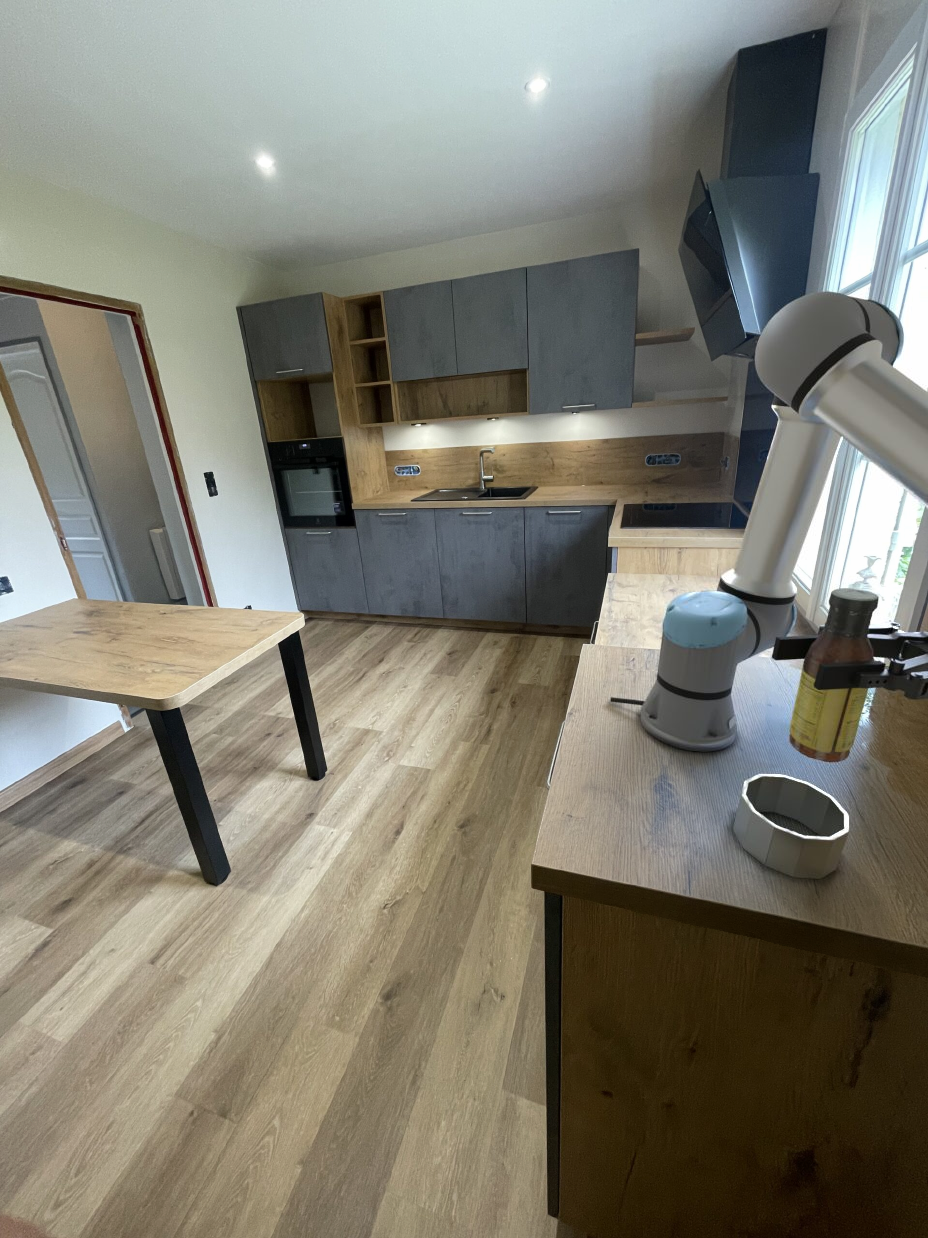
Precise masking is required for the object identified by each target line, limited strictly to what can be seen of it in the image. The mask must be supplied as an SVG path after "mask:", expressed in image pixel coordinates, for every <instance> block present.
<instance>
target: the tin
mask: <svg viewBox="0 0 928 1238" xmlns="http://www.w3.org/2000/svg"><path fill="white" fill-rule="evenodd" d="M740 792H741V793H740V797H739V801H738V804H737V805H738V806H737V810H736V813H735V814H736V815H735V818H734V823H733V827H732V830H733V833H734V834H735V836H736V839H737V841H738V842H739V844H740V845H741V847H742V848H743V849H744V850H745V851H746V852H747V853H748V854H750V855H751V857H754V859H756V860H757V861H758V862H759V863H761V864H762V865H763V866H765V867H768V868H770V869H772V870H775V871H777V872H779V873H782V874H784V875H787V876H790V877H792V878H797V879H798V878H799V879H813V880H814V879H815V880H821V879H823V878H825V877H826V876H828V875H830V874H831V873H833V872H834V871H836V870H837V868H838V865H839V863H840V859H841V856H842V854H843V851H844V848H845V845H846V842H847V839H848V837H849V833H850V815H849V813H848V812H847V811H846V810H845V809H844V808H843V806H842V805H841V804H840V803H839V802H838V800H836V798H835V797H834V796H832V795H830V794H829V793H827V792H826V791H823V790H822V789H820V788H819V787H817V786H816V785H814V784H812V783H810V782H808V781H805V780H801V779H798V778H795V777H792V776H790V775H789V776H788V775H786V774H778V773H777V774H775V773H773V774H771V773H758V774H756V775H754V776H752V777H750V778H747V779H744V781H743V785H742V788H741V791H740ZM761 812H762V813H764V812H765V813H776V814H779V815H780V816H783V817H787V818H790V819H792V820H795V821H798V822H799V823H801V824H803V825H804V826H805V827H807V828H808V829H810V830H811V831H812V832H814V833H816V834H817V835H804V834H801V833H798V832H796V831H793V830H790V829H787V828H784V827H783V826H780V825H777V824H775V823H774V822H773V821H771V820H770V819H768V817H766V816H764V815H763V814H761Z"/></svg>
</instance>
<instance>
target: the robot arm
mask: <svg viewBox="0 0 928 1238" xmlns="http://www.w3.org/2000/svg"><path fill="white" fill-rule="evenodd" d="M904 342H905V332H904V328H903V325H902V321H901V320H900V319H899V317H898V316H897V315H896V313H895V312H893V311H892V310H891V309H890V308H889V307H888V306H887V305H885V304H884V303H881V302H879V301H877V300H873V299H864V298H861V297H855V296H850V295H847V294H844V293H841V292H837V291H836V292H835V291H828V290H827V291H817V292H812V293H807V294H805V295H802V296H801V297H798V298H796V299H794V300H793V301H791V302H789V303H786V304H785V306H783V307H782V308H781V309H779V311H777V312H776V313H775V314H774V315H773V316H772V317H771V318H770V320H769V321H768V322H767V324H766V325H765V327H764V328H763V330H762V332H761V333H760V336H759V338H758V341H757V344H756V347H755V352H754V353H755V354H754V365H755V370H756V373H757V376H758V378H759V380H760V381H761V383H762V384H763V385H764V386H765V387H766V388H767V389H768V390H769V391H770V392H771V393H773V395H774V397H773V399H772V403H771V409H772V410H773V412H774V413H775V414H776V416H777V419H778V421H777V426H776V428H775V432H774V435H773V439H772V442H771V445H770V448H769V451H768V454H767V457H766V460H765V464H764V467H763V471H762V474H761V477H760V480H759V484H758V487H757V490H756V493H755V496H754V500H753V502H752V506H751V510H750V513H749V517H748V520H747V523H746V526H745V529H744V532H743V536H742V539H741V543H740V545H739V549H738V552H737V555H736V558H735V562H734V564H733V566H732V567H731V568H729V569H727V570H725V571H723V572H722V573H721V575H720V578H719V582H718V584H717V587H716V590H701V591H700V592H699V591H695V590H694V591H693V590H692V591H688V592H685V593H682V594H679V595H677V596H676V597H674V598H673V599H671V600H670V602H669V603H668V605H667V607H666V611H665V616H664V618H663V621H662V625H661V626H662V633H661V641H660V650H659V656H658V657H659V658H658V665H657V673H656V679H655V682H654V684H653V686H652V687H651V689H650V691H649V692H648V694H647V696H646V698H645V700H639V699H631V698H622V697H610V702H611V703H618V704H627V705H635V706H640V707H641V712H640V722H641V725H642V726H643V728H644V729H645V730H646V732H648V733H649V734H650V735H651V736H652V737H654V738H655V739H656V740H659V741H660V742H662V743H664V744H667V745H670V746H672V747H675V748H678V749H682V750H687V751H693V752H717V751H720V750H721V751H722V750H723V749H726V748H728V747H730V746H731V745H732V744H733V743H734V741H735V739H736V734H737V729H738V724H737V722H738V720H737V715H736V714H735V709H734V703H733V698H732V690H733V685H734V681H735V676H736V672H737V667H738V666H739V664H741V663H742V662H744V661H746V660H748V659H750V658H752V657H754V656H756V655H760V654H761V653H763V652H765V651H768V650H770V649H772V648H773V649H772V654H771V659H772V660H774V661H794V660H795V661H796V660H804V659H805V657H806V655H807V653H808V651H809V649H810V647H811V645H812V644H813V643H814V642H815V641H816V639H817V638H818V637H819V635H820V634H821V632H822V630H823V629H824V625H825V624H822V625H821V624H820V625H819V627H818V630H817V634H809V635H793V636H792V635H790V633H792V631H793V629H794V627H795V625H796V621H797V616H798V615H797V613H798V611H797V606H796V604H794V601H795V598H796V596H797V593H798V587H797V586H796V584H795V583H794V582H793V580H792V576H793V573H794V570H795V568H796V565H797V562H798V559H799V557H800V554H801V551H802V549H803V546H804V544H805V540H806V539H807V535H808V532H809V530H810V528H811V525H812V522H813V519H814V517H815V514H816V511H817V508H818V506H819V502H820V500H821V498H822V495H823V492H824V490H825V487H826V484H827V482H828V480H829V479H828V478H829V476H830V473H831V470H832V468H833V465H834V462H835V460H836V457H837V455H838V452H839V449H840V446H841V444H842V441H843V439H844V440H845V441H846V442H847V443H849V444H850V445H851V446H852V447H853V448H855V449H856V450H857V451H858V452H859V453H861V454H862V455H863V456H864V457H866V459H868V460H869V461H870V462H871V463H873V465H875V466H876V467H877V468H878V469H879V470H880V471H881V472H883V473H884V474H886V475H887V476H888V477H889V478H890V479H891V480H892V481H894V482H895V483H896V484H898V485H899V486H900V487H901V488H902V489H903V490H904V491H906V492H907V493H908V494H909V495H910V496H912V497H913V498H914V499H915V500H917V501H918V502H919V503H920V504H921V505H923V506H924V507H925V508H926V509H928V391H927V390H926V389H925V388H923V387H922V386H920V385H919V384H917V383H916V382H915V381H914V380H913V379H911V378H909V377H908V376H907V375H906V374H904V373H902V372H901V371H900V370H899V369H897V368H896V367H895V366H896V365H897V363H898V361H899V359H900V357H901V355H902V351H903V347H904V344H905V343H904ZM900 628H901V624H900V623H898V622H895V621H889V622H888V621H887V622H884V623H875V624H874V623H870V626H869V633H868V635H867V636H868V638H869V641H870V643H871V646H872V648H873V651H874V654H873V658H878V659H879V658H880V659H887V660H889V665H888V666H887V667H888V668H887V669H885V668H886V665H887V664H886V663H885V662H883V661H881V660H874V661H865V662H847V663H828V664H819V668H818V672H817V675H816V679H815V683H814V686H813V687H815V688H816V689H818V690H831V689H849V688H868V689H878V688H879V689H884V690H887V691H892V692H896V691H901V692H903V696H904V697H905V698H907V699H908V700H914V701H918V700H928V631H915V632H905V631H902V630H900ZM789 635H790V636H789Z"/></svg>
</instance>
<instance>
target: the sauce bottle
mask: <svg viewBox="0 0 928 1238" xmlns="http://www.w3.org/2000/svg"><path fill="white" fill-rule="evenodd" d="M879 599H880V597H879V596H878V594H876V593H874V592H872V591H869V590H864V589H857V588H850V587H849V588H848V587H841V588H836V589H833V590H832V591H831V592H830V596H829V599H828V605H829V609H828V613H827V616H826V621H825V622H824V624H823V625H824V629H823V630H822V632H821V634H820V635H819V637H818V638H817V639H816V641H815V642H814V643H813V644H812V645H811V647H810V649H809V651H808V653H807V655H806V657H805V659H803V663H802V667H801V674H800V678H799V682H798V687H797V692H796V695H795V696H796V697H795V701H794V706H793V710H792V715H791V719H790V724H789V728H788V732H789V736H788V737H789V743H790V745H791V746H792V748H794V749H795V750H796V751H797V752H799V754H801V755H803V756H805V757H807V758H808V759H813V760H816V761H821V762H825V763H839V762H843V761H846V759H848V758H849V756H850V754H851V750H852V748H853V747H854V744H855V740H856V736H857V732H858V729H859V725H860V721H861V718H862V714H863V710H864V706H865V702H866V699H867V697H868V692H869V688H849V689H831V690H818V689H816V688H815V687H813V686H814V683H815V679H816V675H817V672H818V668H819V664H828V663H847V662H865V661H875V657H873V654H874V651H873V648H872V646H871V643H870V641H869V638H868V636H867V635H868V633H869V626H870V624H871V621H872V617H873V613H874V612H875V610H877V608H878V606H879Z"/></svg>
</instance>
